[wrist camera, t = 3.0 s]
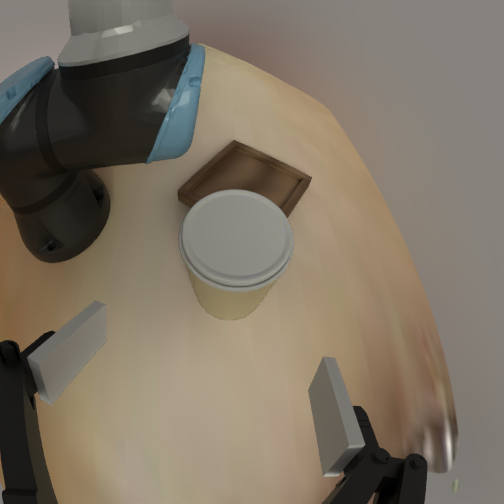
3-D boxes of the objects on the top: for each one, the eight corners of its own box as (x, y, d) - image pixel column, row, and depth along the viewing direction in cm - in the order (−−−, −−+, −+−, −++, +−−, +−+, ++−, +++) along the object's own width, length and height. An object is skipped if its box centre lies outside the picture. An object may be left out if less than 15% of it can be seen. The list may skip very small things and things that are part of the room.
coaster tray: (178, 200, 37) (177, 190, 36) (233, 149, 44) (234, 140, 42) (265, 250, 35) (268, 241, 33) (308, 186, 42) (312, 177, 40)
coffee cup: (285, 291, 33) (318, 236, 22) (227, 345, 29) (235, 312, 18) (231, 240, 35) (240, 171, 25) (172, 284, 31) (154, 224, 21)
